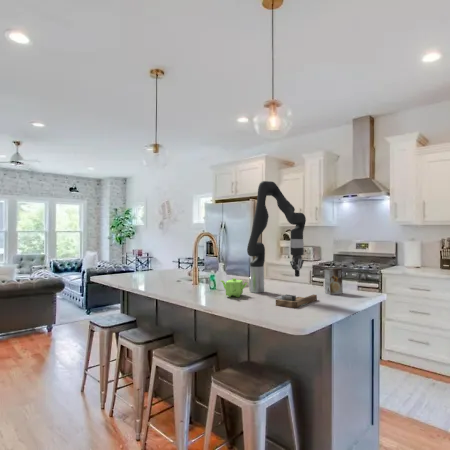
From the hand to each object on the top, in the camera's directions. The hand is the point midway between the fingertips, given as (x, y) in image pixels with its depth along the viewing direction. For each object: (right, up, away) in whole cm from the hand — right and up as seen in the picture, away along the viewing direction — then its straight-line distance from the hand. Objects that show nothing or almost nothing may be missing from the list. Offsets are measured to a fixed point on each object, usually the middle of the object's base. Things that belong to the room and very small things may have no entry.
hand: (297, 276), depth 198 cm
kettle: (-37, -15, +17) cm, 44 cm away
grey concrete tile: (-5, -14, +8) cm, 17 cm away
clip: (-7, -13, -9) cm, 17 cm away
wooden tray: (-1, -14, -6) cm, 15 cm away
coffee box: (+28, -14, +20) cm, 37 cm away
